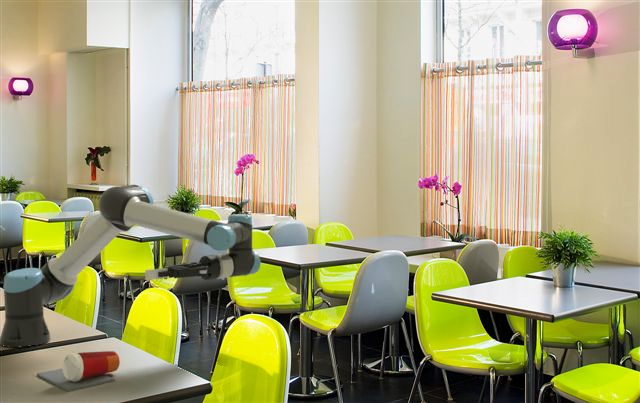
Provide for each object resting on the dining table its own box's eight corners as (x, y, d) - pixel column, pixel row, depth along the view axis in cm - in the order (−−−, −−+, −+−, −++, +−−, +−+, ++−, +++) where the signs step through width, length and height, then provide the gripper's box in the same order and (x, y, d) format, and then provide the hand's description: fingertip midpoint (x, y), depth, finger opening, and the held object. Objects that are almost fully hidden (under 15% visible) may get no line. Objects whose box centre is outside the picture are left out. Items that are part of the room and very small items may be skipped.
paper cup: (100, 358, 216) (57, 364, 205) (114, 341, 213) (71, 346, 202) (112, 381, 213) (68, 388, 202) (126, 364, 210) (83, 370, 199)
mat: (37, 375, 212) (36, 373, 212) (82, 366, 221) (81, 364, 221) (67, 391, 197) (67, 389, 197) (114, 381, 206) (114, 378, 206)
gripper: (227, 281, 233) (158, 291, 217) (203, 276, 243) (135, 285, 227) (227, 256, 233) (157, 264, 217) (203, 253, 242) (135, 260, 227)
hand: (146, 275), depth 222 cm, fingers closed
